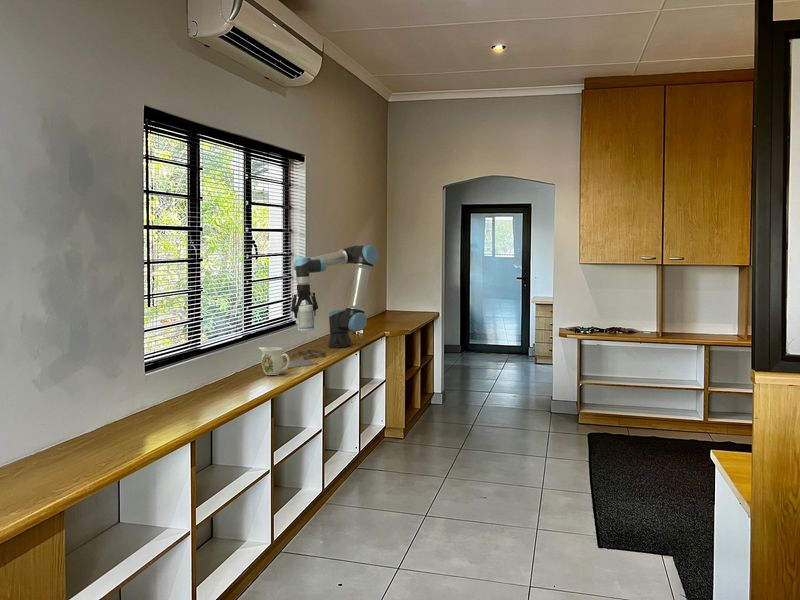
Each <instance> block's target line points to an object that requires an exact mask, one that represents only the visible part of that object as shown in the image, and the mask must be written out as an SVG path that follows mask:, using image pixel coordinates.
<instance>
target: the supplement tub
mask: <svg viewBox="0 0 800 600" xmlns="http://www.w3.org/2000/svg"><path fill="white" fill-rule="evenodd" d="M298 312H299V324H296V325H297V331H298V332H303V333H304V332H305V333H306V332H312V331H314V330H315V322H314V317H313V306H312V305H309V304H300V306H299V309H298Z"/></svg>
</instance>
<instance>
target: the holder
mask: <svg viewBox="0 0 800 600" xmlns="http://www.w3.org/2000/svg"><path fill="white" fill-rule="evenodd" d="M301 355H303V356H301ZM290 356H291V358H295V357H294V356H296V357H302V359H304V360H306V359H307V360H313V358H314V359H318V357H320V358H324V356H327V355H326V352H325V351H322V350H316V349H313V348H312V349H305V350H299V351H291V352H290Z"/></svg>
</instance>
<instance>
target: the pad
mask: <svg viewBox="0 0 800 600" xmlns="http://www.w3.org/2000/svg"><path fill="white" fill-rule="evenodd" d="M318 363H319V362H315V361H311V360H309V359H307V360H304V359H303V358H300V359H294V360H290V365H289V367H288V368H291V369H295V368H294V367H297V368H302V367H301V366H303V367H307V366H308V365H309V366H314V365H313V364H315V365H319V364H318ZM286 365H287V361H284V363H283V368H284V367H286ZM309 366H308V367H309ZM288 368H287V369H288Z"/></svg>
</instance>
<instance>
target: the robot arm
mask: <svg viewBox="0 0 800 600" xmlns="http://www.w3.org/2000/svg"><path fill="white" fill-rule="evenodd" d="M379 258H380V257H379V251H378V249H377V248H376V246H374V245H370V244H369V245H368V244H364V245H363V244H362V245H359V244H357V245H352V246H351V245H350V246H348V247H345V248H341V249H339V250H338V251H336V252H335V251H334V252H330V253H325V254H321V255H317V256H312V257H308V256H298V257H296V258H295V261H294V262H293V265H292V266H293V270H294V271H295V276H296V278H295V279H296V281H295V282H296V291H297V293H296V294H292V295H291V296H292V301H291V307H290V311H291V312H292V313H293V317H294V319H295V324H296V325H297V324H299V312H298V309H299V306H300V305H302V302H303V301H306V302H307V304H308V305H312V306H313V317H314V323H315V322H316V311H317V310H318V309H319V304H318V302H317V299H316V298H317V297H316V292H311V284H310V282H311V281H310V274H311V273H312V274H314V273H323V272H325V271H326V269H327V267H330V266H331V267H332V266H335V265H339V264H341V265H348V264H353V265H354V267H355V272H354V277H353V283H352V288H351V292H350V293H351V295H350V299H349V304H348V306H347V307H345V308H343V309H338V310H337V309H336V310H330V311H329V313H328V321H329V324H328V325H329V336H328V341H327V348H330V347H331V349H340V347H344V348H350V347H352V345H353V343H352V339H351V337H350V334H349V333H350V332H361V331H363V330H364V329H365V327H366V326H367V321H368V320H367V315H366V314H365V310H364V303H365V299H366V292H367V287H368V283H369V276H370V272H371V270H373V269H374V265H375V264H376V263H377V262H378V260H379ZM349 346H350V347H349Z"/></svg>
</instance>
